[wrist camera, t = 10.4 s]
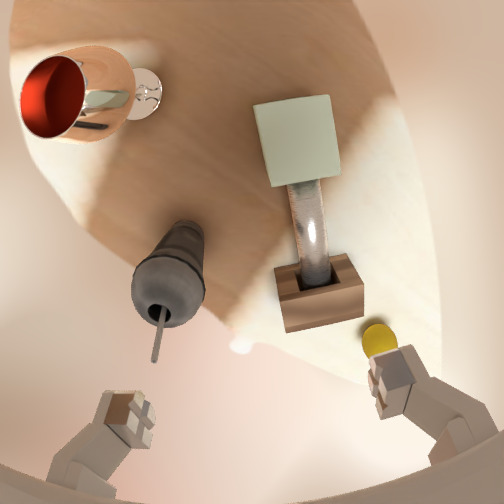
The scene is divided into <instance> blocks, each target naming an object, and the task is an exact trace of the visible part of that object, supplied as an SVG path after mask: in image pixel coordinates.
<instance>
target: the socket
mask: <svg viewBox="0 0 504 504" xmlns="http://www.w3.org/2000/svg"><path fill="white" fill-rule="evenodd" d="M329 261H330V272H331V283H332V285H329V286H325V287H320V288H315V289H310V290H306V291H304V288H303V281H302V275H301V268H300V263H298V264H293V265H288V266H283V267H278V268H274V271H275V277H276V283H277V289H278V295H279V301H280V306H281V311H282V316H283V321H284V326H285V331H286V333H290V332H296V331H301V330H305V329H310V328H315V327H320V326H324V325H329V324H333V323H338V322H342V321H346V320H351V319H355V318H359V317H363V316H364V283H363V281H362V280H361V278H360V276H359V275H358V273H357V271H356V269H355V268H354V266H353V264H352V263H351V261H350V259H349V258H348V256H347V254H342V255H337V256H332V257H329Z"/></svg>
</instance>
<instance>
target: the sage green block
mask: <svg viewBox="0 0 504 504" xmlns="http://www.w3.org/2000/svg"><path fill="white" fill-rule="evenodd" d="M252 106H253V110H254V115H255V119H256V124H257V129H258V133H259V138H260V142H261V147H262V152H263V157H264V161H265V166H266V171H267V174H268V177H269V180H270V184H271V187H277V186H282V185H287V184H292V183H298V182H303V181H308V180H314V179H320V178H325V177H331V176H337V175H342V174H341V166H340V158H339V151H338V144H337V137H336V131H335V125H334V119H333V113H332V107H331V101H330V96H329V94H326V95H312V96H304V97H297V98H291V99H285V100H279V101H273V102H267V103H262V104H257V105H252Z"/></svg>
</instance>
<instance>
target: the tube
mask: <svg viewBox="0 0 504 504" xmlns="http://www.w3.org/2000/svg"><path fill="white" fill-rule="evenodd" d="M287 190H288V196H289V201H290V207H291V213H292V219H293V224H294V230H295V236H296V243H297V249H298V255H299V261H300V268H301V275H302V281H303V288H304V291H306V290H310V289H315V288H320V287H325V286H329V285H332V283H331V272H330V261H329V251H328V242H327V233H326V224H325V216H324V208H323V200H322V193H321V186H320V179H314V180H308V181H303V182H298V183H292V184H287Z"/></svg>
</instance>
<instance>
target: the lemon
mask: <svg viewBox="0 0 504 504" xmlns="http://www.w3.org/2000/svg"><path fill="white" fill-rule="evenodd" d="M362 347H363V350H364V353H365V354H366V356H367V357H368V358H370V356H372V355H375V354H379V353H382V352H386V351H389V350H392V349H395V348H398V343H397V339H396V336H395V334H394V332H393V331H392V330H391V329H390V328H389V327H388V326H386V325H384V324H375V325H372V326H370V327H369V328H368V329H367V330H366V331H365V332H364V334H363V337H362Z"/></svg>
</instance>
